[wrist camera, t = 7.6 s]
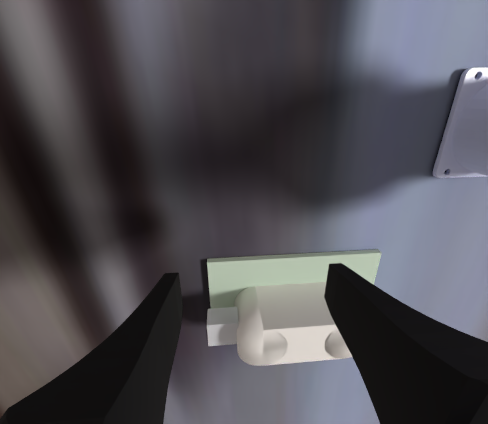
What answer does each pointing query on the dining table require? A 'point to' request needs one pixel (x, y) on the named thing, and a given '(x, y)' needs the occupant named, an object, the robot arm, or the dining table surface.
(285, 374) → the dining table surface
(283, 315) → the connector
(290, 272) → the mat
